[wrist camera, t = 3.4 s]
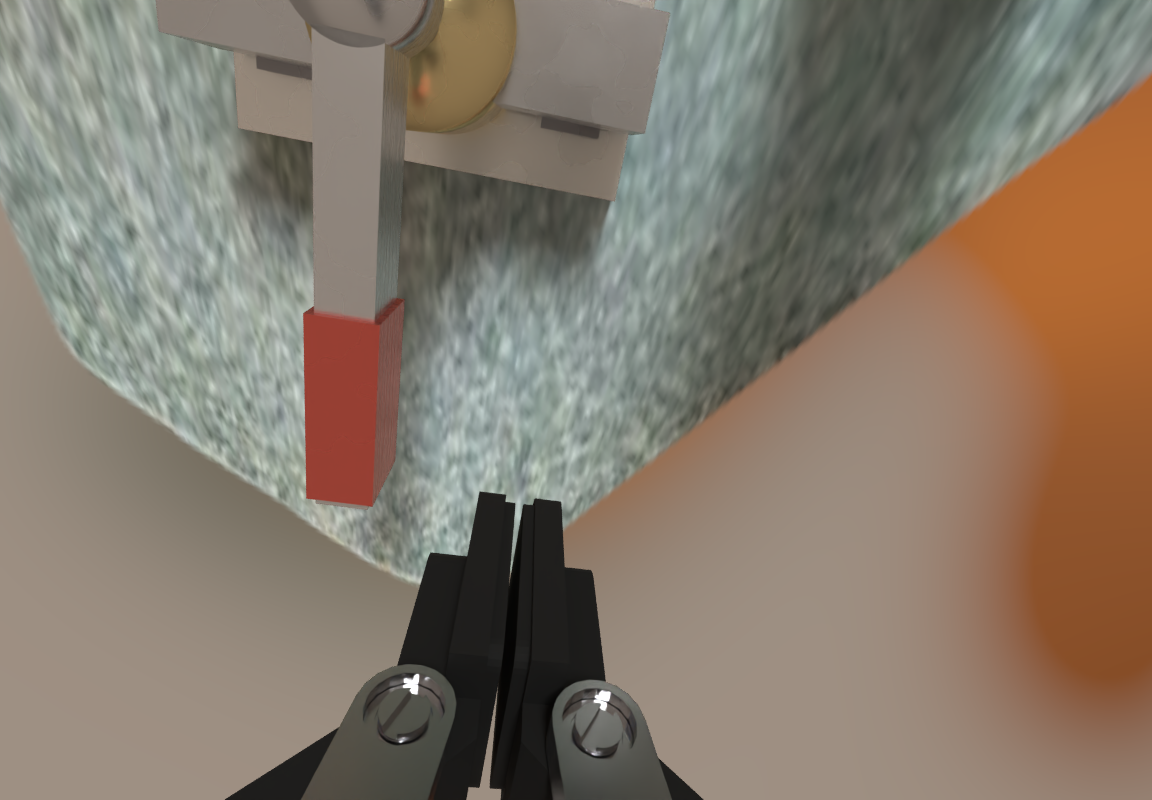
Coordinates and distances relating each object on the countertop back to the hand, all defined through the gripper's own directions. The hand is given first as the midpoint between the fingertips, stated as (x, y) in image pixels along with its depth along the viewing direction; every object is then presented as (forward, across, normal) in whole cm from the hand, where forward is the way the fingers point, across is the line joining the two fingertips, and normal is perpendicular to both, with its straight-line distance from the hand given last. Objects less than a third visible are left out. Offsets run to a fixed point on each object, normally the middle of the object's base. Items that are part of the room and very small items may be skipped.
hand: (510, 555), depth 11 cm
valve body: (+18, +5, -11) cm, 22 cm away
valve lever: (+8, +5, -4) cm, 11 cm away
